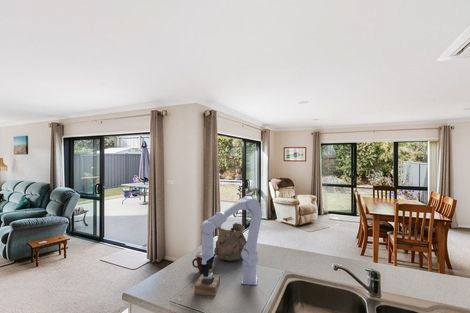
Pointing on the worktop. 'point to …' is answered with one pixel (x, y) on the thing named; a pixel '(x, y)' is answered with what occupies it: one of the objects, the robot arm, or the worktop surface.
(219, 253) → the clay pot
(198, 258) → the mug
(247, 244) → the robot arm
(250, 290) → the worktop surface
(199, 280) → the socket block
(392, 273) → the worktop surface
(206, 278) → the plug
